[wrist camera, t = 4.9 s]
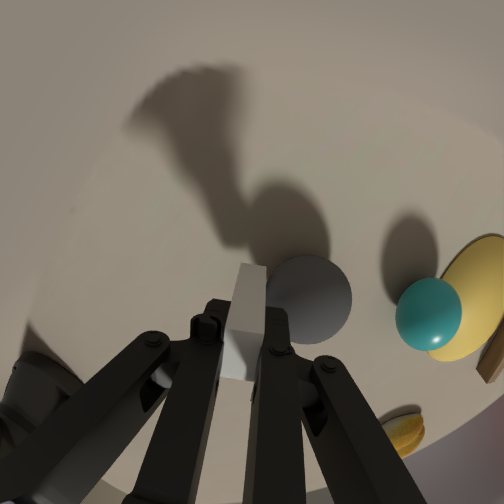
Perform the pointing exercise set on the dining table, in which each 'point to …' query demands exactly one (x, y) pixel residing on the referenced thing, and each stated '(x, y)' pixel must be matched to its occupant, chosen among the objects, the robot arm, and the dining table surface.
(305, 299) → the ball
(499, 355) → the wall
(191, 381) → the robot arm
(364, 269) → the dining table surface
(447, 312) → the ball
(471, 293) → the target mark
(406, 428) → the bread roll
